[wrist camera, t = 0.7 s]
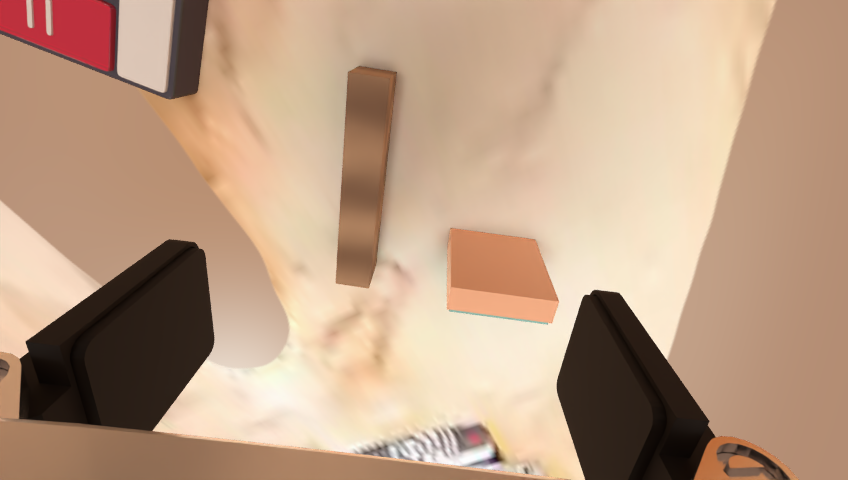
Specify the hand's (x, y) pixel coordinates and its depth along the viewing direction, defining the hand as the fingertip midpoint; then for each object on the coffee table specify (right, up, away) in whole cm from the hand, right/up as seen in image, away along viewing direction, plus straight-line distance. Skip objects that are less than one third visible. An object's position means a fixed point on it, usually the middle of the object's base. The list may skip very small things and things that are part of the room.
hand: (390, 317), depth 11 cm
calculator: (-23, +21, +23) cm, 39 cm away
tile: (+7, +2, +30) cm, 31 cm away
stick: (-4, +8, +28) cm, 30 cm away
